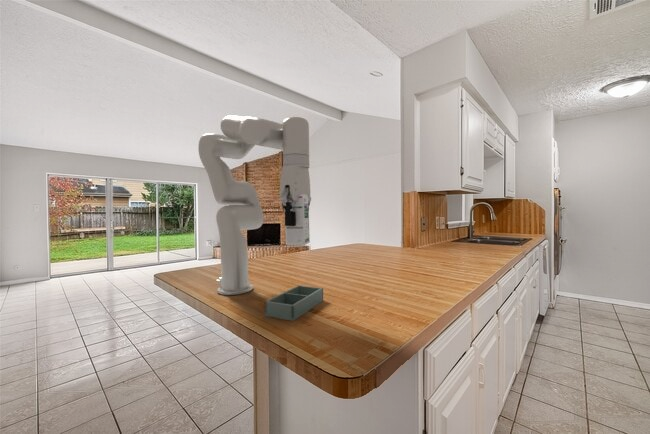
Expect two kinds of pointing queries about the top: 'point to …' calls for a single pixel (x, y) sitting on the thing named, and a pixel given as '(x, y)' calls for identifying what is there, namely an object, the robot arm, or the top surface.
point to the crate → (293, 302)
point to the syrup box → (299, 224)
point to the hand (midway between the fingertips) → (297, 224)
